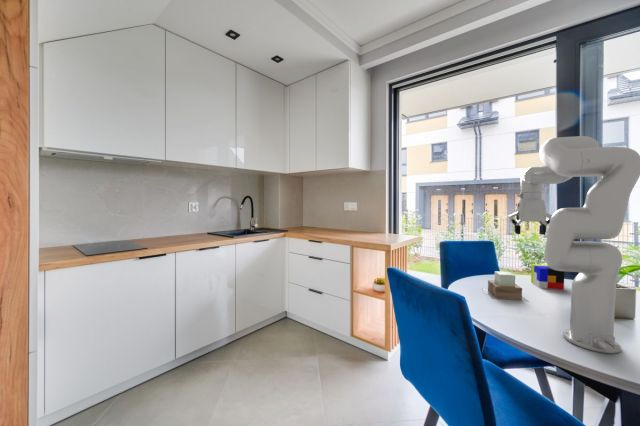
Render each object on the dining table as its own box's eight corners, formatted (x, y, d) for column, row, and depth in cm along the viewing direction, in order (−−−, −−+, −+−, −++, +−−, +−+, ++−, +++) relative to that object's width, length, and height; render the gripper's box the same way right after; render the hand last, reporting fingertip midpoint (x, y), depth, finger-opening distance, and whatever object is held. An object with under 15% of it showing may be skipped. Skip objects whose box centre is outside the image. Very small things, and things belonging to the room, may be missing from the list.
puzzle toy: (539, 287, 135) (539, 268, 135) (531, 282, 145) (531, 263, 144) (563, 289, 132) (564, 269, 132) (553, 283, 142) (554, 265, 141)
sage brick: (515, 286, 119) (515, 275, 118) (499, 285, 120) (500, 274, 120) (508, 282, 124) (509, 271, 124) (494, 281, 126) (494, 271, 126)
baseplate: (529, 304, 114) (529, 301, 114) (492, 301, 118) (492, 298, 118) (514, 293, 127) (514, 290, 127) (481, 291, 131) (481, 288, 131)
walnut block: (521, 299, 116) (522, 288, 116) (495, 297, 119) (496, 286, 119) (511, 291, 126) (512, 281, 126) (487, 290, 129) (488, 280, 128)
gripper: (513, 196, 119) (512, 234, 120) (558, 196, 115) (557, 235, 116) (505, 196, 126) (504, 232, 127) (548, 196, 123) (547, 233, 123)
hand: (529, 234), depth 121 cm, fingers open, 9 cm apart
